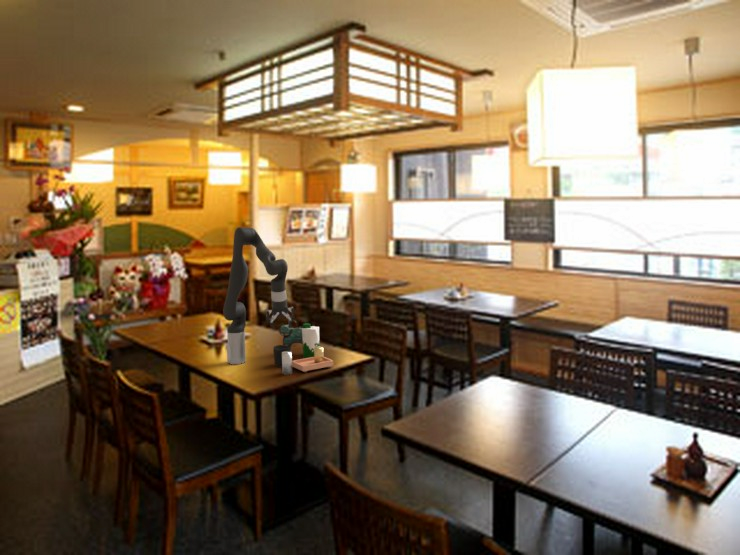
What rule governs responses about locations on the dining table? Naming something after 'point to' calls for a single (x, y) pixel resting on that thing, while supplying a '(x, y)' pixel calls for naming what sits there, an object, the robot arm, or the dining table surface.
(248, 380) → the dining table surface
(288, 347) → the pen holder
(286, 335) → the ceramic cat
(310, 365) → the pink tray
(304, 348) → the milk carton
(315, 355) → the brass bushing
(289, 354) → the steel spacer
